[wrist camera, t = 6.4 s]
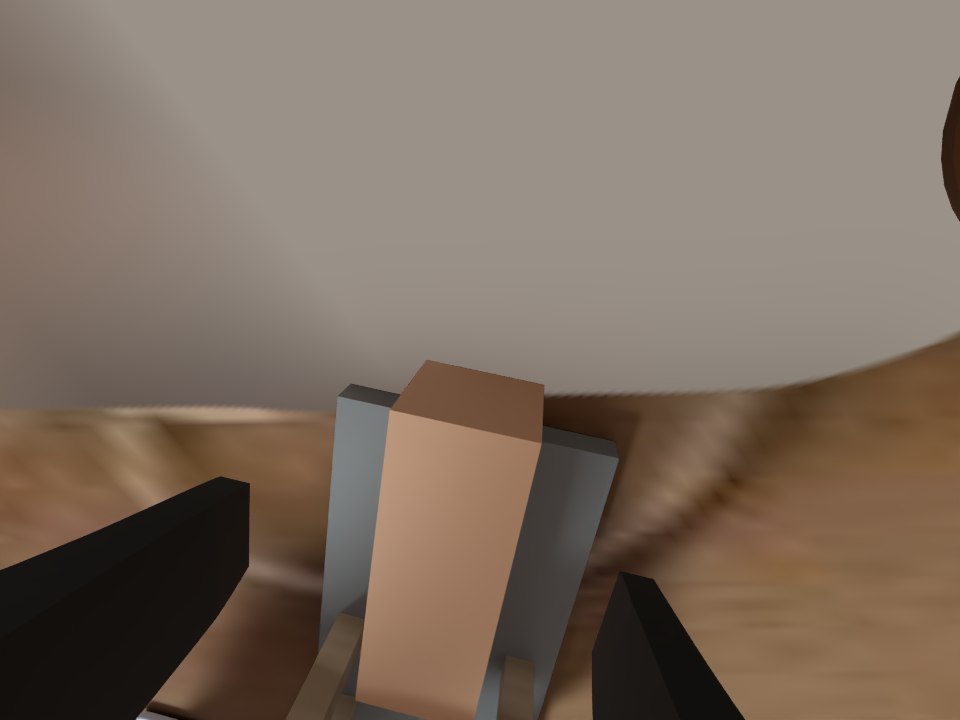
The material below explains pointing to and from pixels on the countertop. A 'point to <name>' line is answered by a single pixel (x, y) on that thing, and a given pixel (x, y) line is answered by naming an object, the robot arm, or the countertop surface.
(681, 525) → the countertop surface
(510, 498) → the terracotta block
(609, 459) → the board
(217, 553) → the robot arm
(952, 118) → the food container
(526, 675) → the wooden tunnel
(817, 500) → the countertop surface
